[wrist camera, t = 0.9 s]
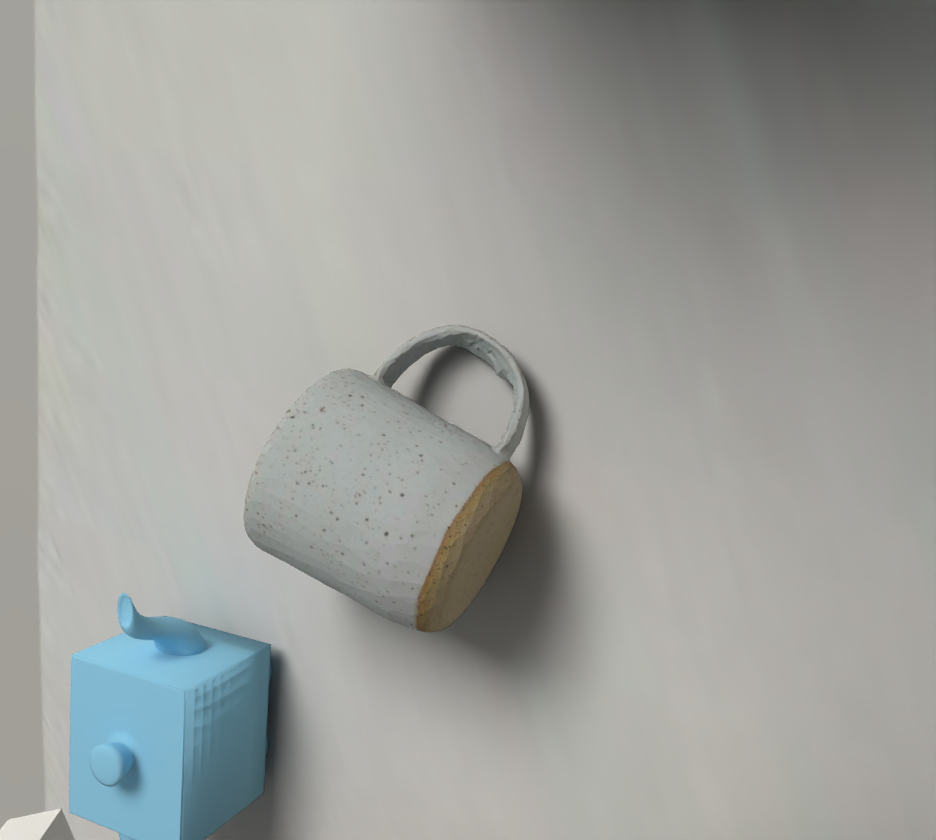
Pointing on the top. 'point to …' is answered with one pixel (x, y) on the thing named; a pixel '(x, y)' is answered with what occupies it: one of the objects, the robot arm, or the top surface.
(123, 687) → the teapot
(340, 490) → the ceramic mug
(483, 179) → the top surface
